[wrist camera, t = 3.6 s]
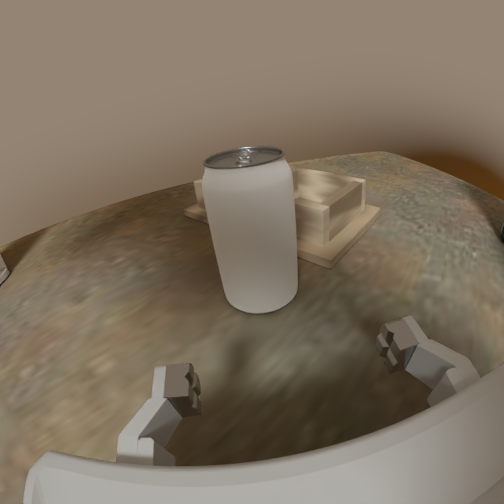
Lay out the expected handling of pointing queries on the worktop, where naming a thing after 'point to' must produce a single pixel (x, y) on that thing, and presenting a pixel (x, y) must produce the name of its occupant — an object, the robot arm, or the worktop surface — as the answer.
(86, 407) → the worktop surface
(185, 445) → the worktop surface
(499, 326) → the worktop surface
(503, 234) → the coffee jar
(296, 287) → the can
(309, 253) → the can holder
